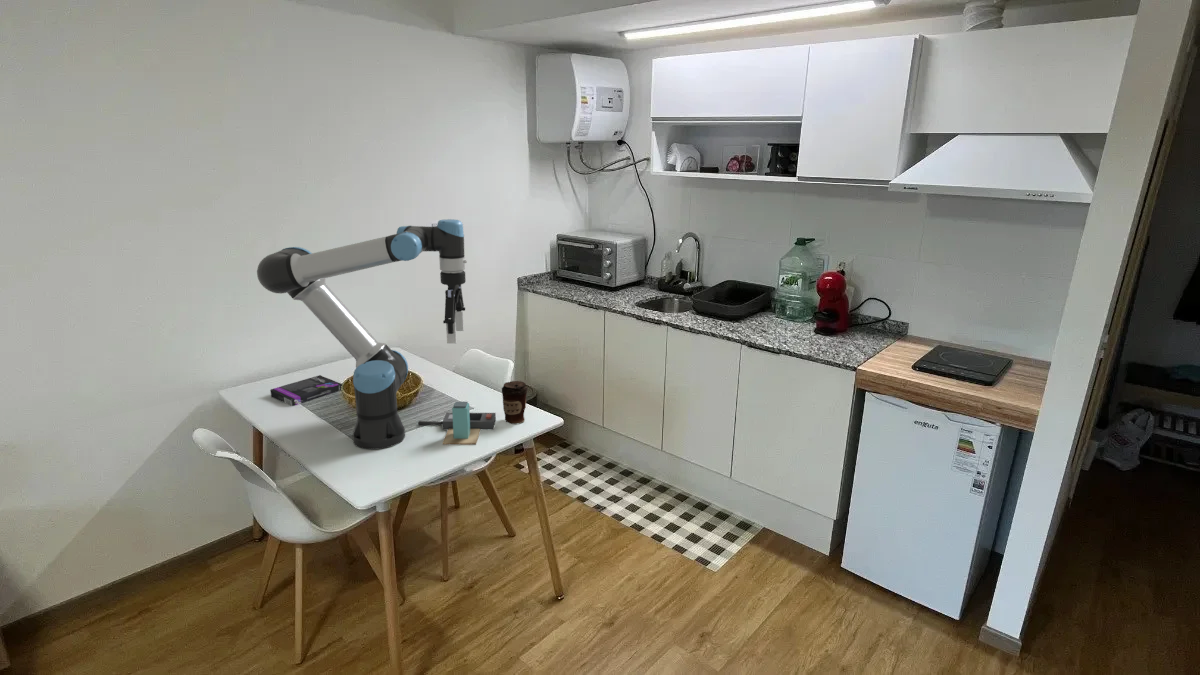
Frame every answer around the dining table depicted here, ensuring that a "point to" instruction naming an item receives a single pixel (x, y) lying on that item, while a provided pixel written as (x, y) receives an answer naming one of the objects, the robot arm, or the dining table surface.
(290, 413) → the dining table surface
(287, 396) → the box
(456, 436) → the block
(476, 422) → the strip
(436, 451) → the dining table surface
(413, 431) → the dining table surface
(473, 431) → the pad
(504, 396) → the coffee cup
